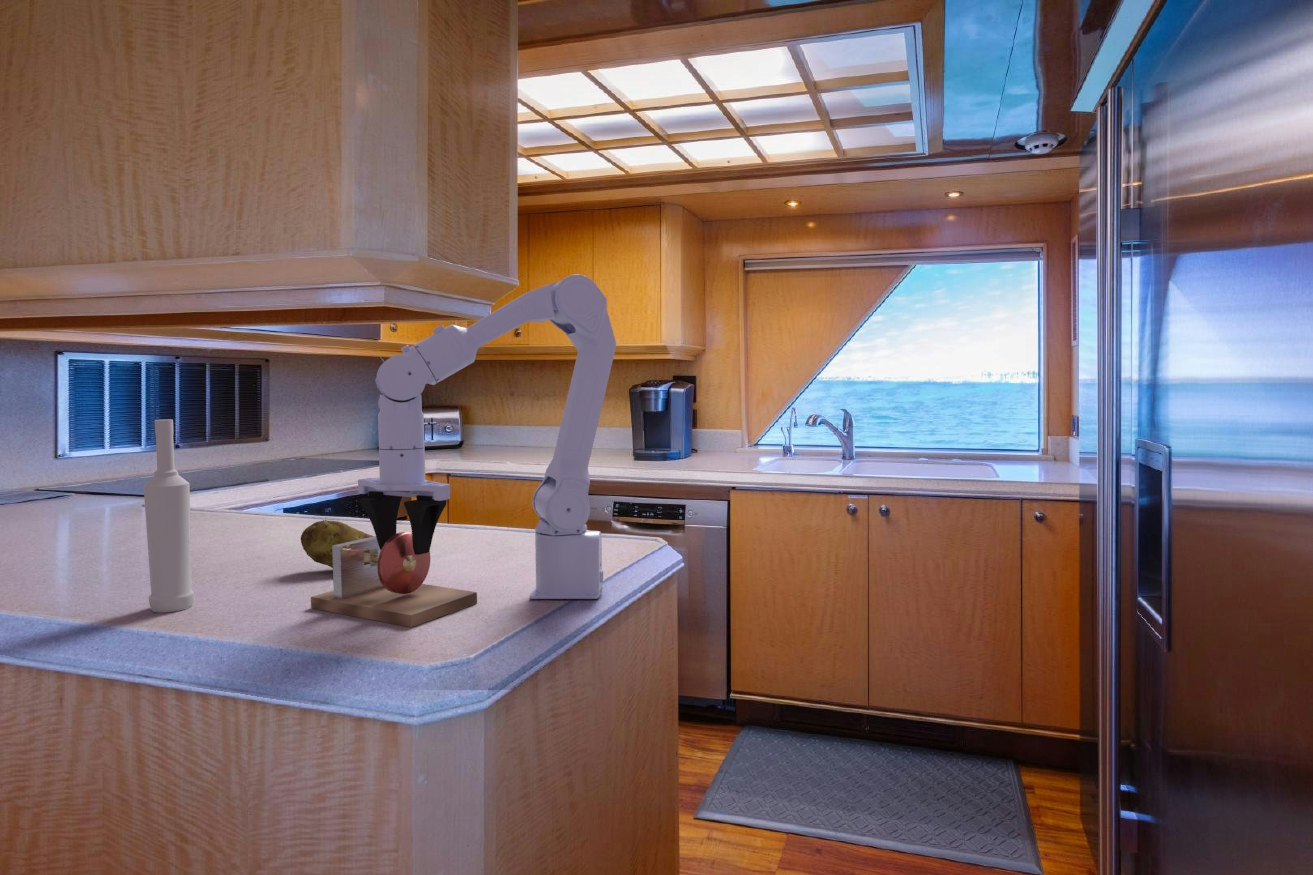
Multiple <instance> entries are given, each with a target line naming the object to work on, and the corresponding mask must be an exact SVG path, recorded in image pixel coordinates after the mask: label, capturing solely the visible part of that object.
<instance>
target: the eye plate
mask: <svg viewBox="0 0 1313 875" xmlns="http://www.w3.org/2000/svg"><path fill="white" fill-rule="evenodd" d="M397 533H398V532H396V534H397ZM373 536H374V535H373ZM366 550H370V554H378V555H380V552H381V550H380V548H379V545H378V541H377V538H376V535H375V536H374V537H369V538H364V539H360V540H355V541H351V542H346V543H342V544H337V545H333V546H332V553H333V568H332V576H333V577H332V578H333V579H332V580H333V591H334V598H336V599H341V600H342V599H346V598H349V597H352V596H356V595H359V594H362V593H366V592H369V591H373V590H376V589H379V588H383V585H382V584H381V582H380V580H379V576H378V570H377V565H378V564H377V563H370V564H368V565H364V551H366Z"/></svg>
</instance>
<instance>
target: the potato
mask: <svg viewBox="0 0 1313 875" xmlns="http://www.w3.org/2000/svg"><path fill="white" fill-rule="evenodd" d="M369 537H374V535H372V534H368V533H366V532H364V531H361V530H359V529H356V528H354V527H353V526H350V525H349V524H346V523H344V522H341V521H337V520H326V519H325V520H324V519H323V520H320V521H316V522H314V523H312V524H311V525H309V526H308V527H306V528H305V529H304V530H303V532H302V533H301V535H300V543H301V546H302V549H303V550H304V552H305V554H306V556H308V557H309V558H310V559H311V560H312V561H313V562H314V563H318V564H321V565H324V566H328V567H330V568H331V569H333V553H332V546H333V545H337V544H342V543H346V542H351V541H355V540H360V539H364V538H369ZM364 553H370V550H366V551H364ZM368 564H370V562H364V565H368Z"/></svg>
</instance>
